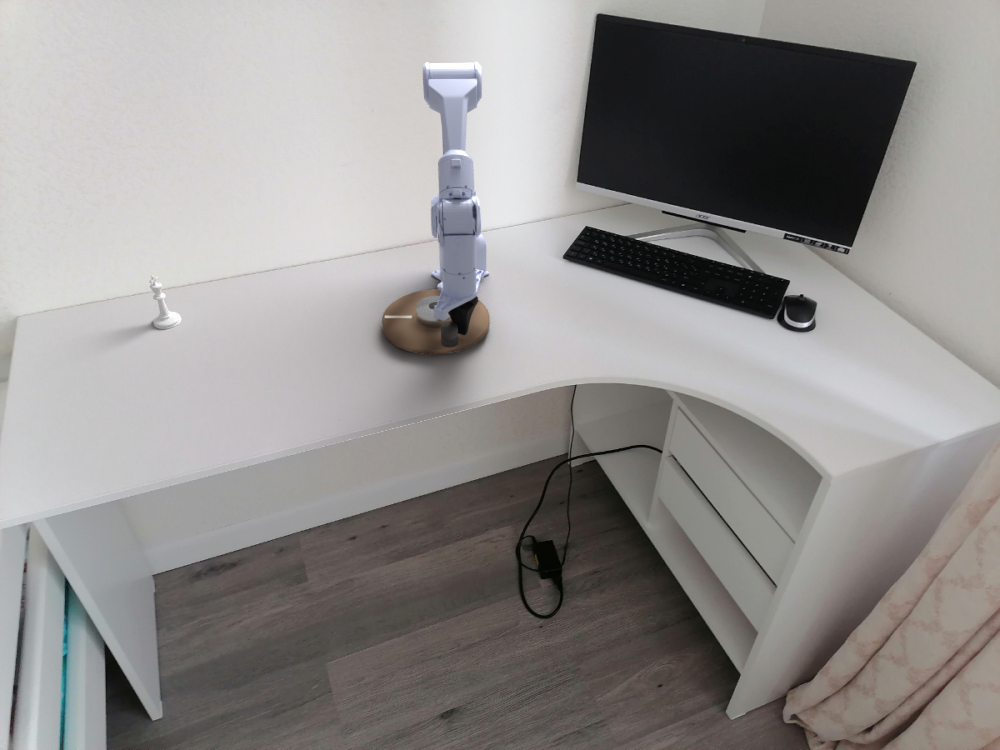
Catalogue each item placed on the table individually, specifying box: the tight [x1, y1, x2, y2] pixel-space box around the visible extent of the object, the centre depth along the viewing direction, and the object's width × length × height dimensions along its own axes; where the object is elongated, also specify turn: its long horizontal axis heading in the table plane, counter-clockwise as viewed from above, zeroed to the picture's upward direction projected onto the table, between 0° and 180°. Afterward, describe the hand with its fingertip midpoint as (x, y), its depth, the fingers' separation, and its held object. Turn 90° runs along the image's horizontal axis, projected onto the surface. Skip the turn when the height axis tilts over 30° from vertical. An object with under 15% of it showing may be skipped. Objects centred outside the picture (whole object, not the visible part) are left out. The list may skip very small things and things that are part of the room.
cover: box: [416, 296, 452, 328], centre depth 135 cm, size 7×7×3 cm
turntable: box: [381, 288, 491, 356], centre depth 135 cm, size 20×20×5 cm
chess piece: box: [149, 274, 182, 330], centre depth 135 cm, size 5×5×10 cm
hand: (460, 332), depth 130 cm, fingers closed
